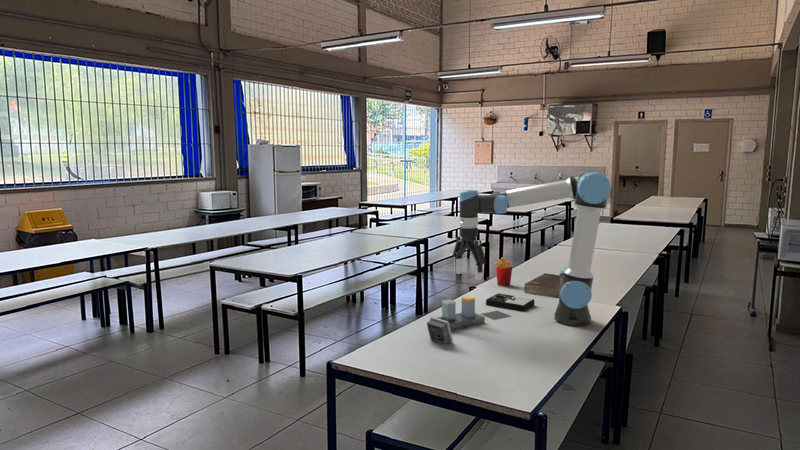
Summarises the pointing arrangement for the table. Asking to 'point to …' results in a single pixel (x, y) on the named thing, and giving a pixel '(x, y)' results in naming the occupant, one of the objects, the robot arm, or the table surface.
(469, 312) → the plug
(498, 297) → the multimeter
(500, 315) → the mat
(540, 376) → the table surface
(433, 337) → the electrical switch
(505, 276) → the french fries
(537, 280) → the hardback book
